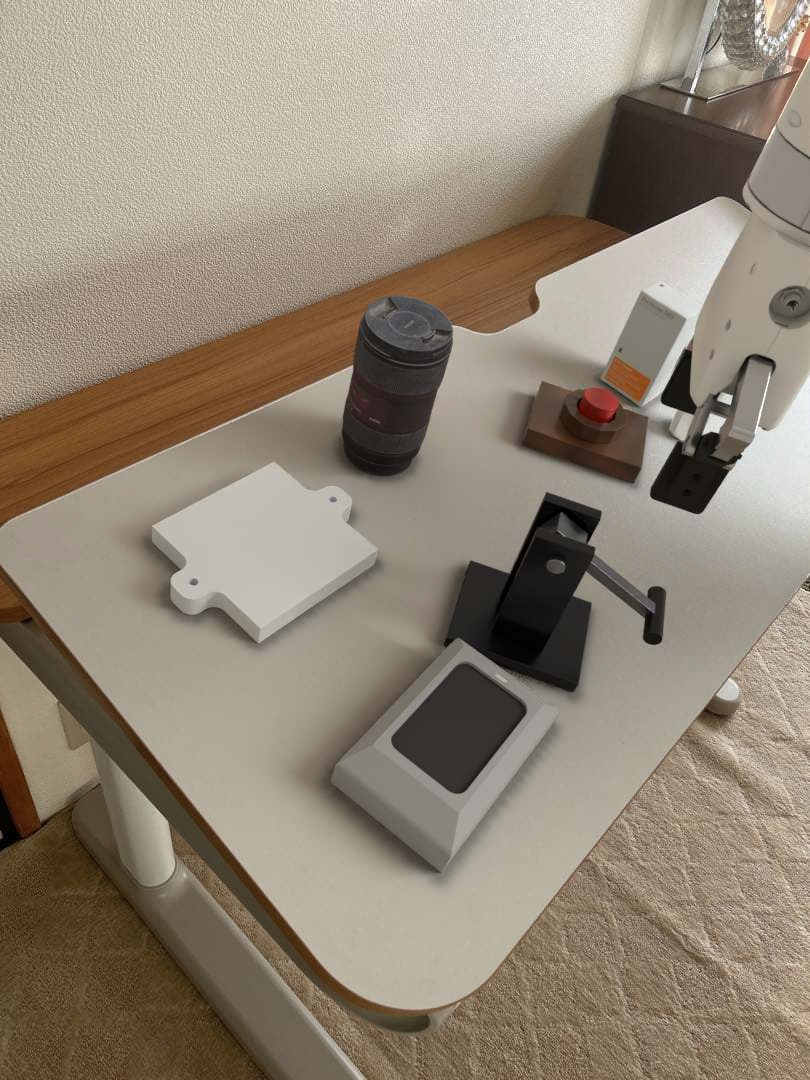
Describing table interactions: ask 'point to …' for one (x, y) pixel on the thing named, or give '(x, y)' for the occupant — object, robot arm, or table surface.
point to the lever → (618, 582)
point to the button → (598, 404)
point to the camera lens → (394, 382)
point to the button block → (586, 433)
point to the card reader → (444, 751)
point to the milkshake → (687, 421)
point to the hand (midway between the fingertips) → (678, 453)
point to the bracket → (532, 601)
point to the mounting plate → (262, 550)
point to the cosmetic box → (651, 342)
